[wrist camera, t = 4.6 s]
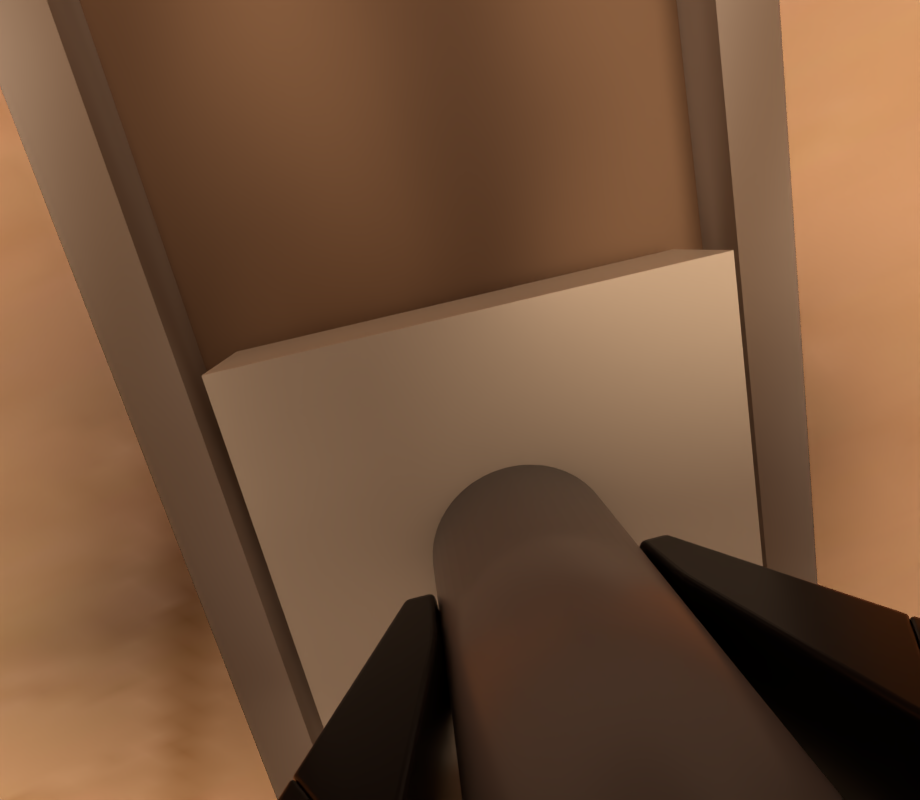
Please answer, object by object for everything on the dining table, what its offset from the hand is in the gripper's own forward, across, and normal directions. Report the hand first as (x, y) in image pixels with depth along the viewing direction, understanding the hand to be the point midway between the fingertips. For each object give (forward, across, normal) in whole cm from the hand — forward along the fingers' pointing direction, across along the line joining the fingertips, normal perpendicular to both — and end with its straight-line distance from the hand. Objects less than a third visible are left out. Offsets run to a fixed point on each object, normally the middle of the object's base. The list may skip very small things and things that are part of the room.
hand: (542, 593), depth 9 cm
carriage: (+3, 0, 0) cm, 3 cm away
